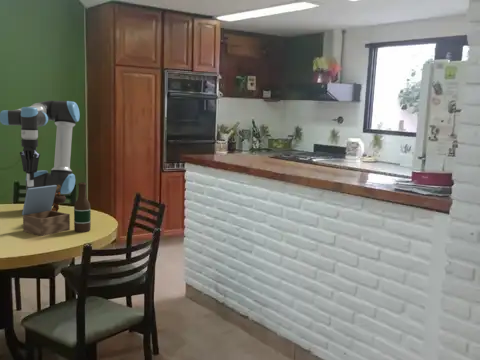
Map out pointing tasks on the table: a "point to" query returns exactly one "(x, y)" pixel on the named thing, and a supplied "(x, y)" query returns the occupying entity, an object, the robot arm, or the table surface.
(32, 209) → the lid
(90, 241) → the table surface
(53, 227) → the box
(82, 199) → the beer bottle
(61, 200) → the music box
